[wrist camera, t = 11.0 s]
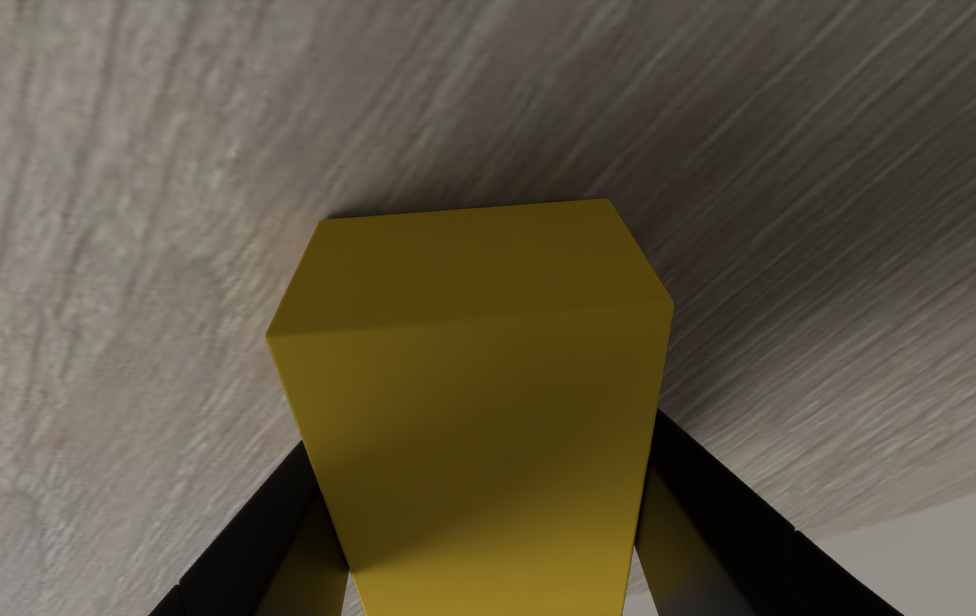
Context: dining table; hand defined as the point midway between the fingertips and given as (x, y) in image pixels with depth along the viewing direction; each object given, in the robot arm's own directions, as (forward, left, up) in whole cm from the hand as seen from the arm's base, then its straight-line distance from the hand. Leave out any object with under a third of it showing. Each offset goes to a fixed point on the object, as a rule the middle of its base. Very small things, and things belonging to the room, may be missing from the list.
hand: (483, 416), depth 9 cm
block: (0, 0, -1) cm, 1 cm away
